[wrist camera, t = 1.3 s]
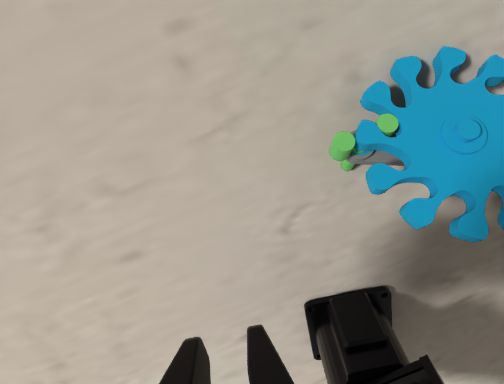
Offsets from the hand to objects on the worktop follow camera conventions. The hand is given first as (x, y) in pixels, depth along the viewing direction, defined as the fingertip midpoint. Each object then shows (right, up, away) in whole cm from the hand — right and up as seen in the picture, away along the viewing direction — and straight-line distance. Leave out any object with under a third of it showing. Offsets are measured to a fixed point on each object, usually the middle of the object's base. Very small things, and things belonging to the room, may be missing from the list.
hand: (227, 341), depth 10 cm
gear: (+10, +8, +11) cm, 17 cm away
